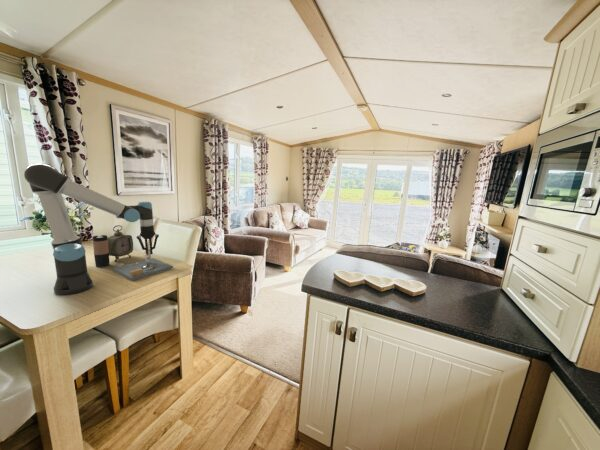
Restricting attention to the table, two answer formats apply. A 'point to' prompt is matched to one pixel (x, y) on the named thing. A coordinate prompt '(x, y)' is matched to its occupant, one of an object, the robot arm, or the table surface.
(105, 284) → the table surface
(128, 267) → the panel
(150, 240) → the robot arm
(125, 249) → the tabletop clock
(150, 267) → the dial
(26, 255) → the table surface
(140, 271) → the screwdriver
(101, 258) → the travel mug
